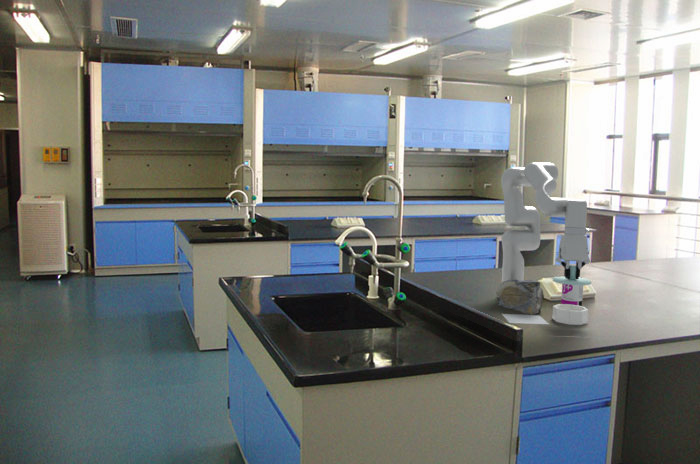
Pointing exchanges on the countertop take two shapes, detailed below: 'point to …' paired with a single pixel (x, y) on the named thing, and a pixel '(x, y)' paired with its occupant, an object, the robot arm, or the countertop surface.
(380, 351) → the countertop surface
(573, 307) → the bowl
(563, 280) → the lid
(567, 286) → the supplement can
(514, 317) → the mat
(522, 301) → the fossil rock
